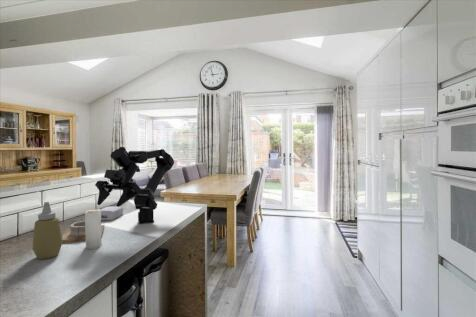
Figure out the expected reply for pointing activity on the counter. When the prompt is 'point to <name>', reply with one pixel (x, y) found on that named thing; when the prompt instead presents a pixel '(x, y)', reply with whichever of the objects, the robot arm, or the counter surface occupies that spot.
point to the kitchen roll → (93, 229)
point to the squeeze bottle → (47, 234)
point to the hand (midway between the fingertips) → (107, 205)
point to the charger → (111, 212)
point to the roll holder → (77, 232)
